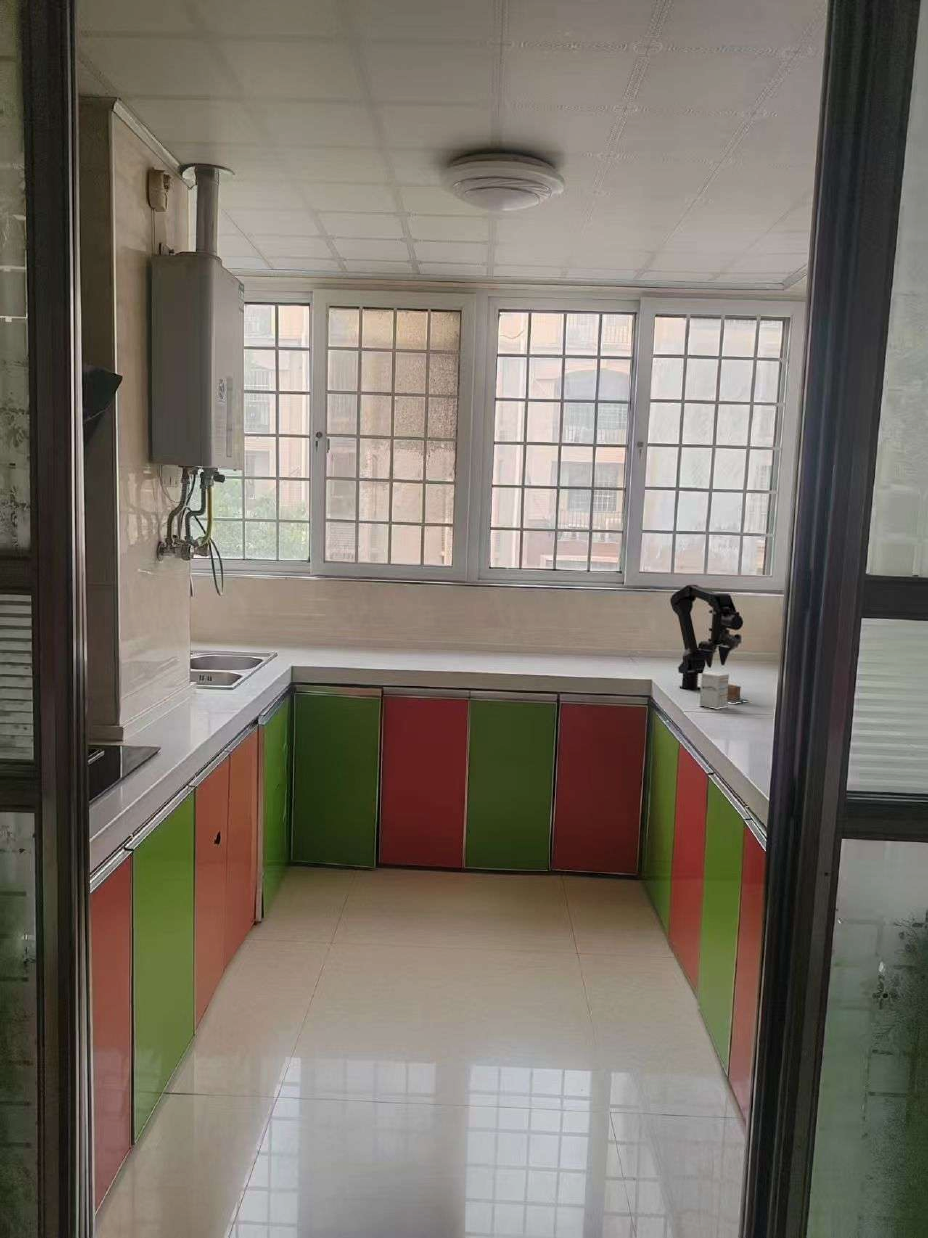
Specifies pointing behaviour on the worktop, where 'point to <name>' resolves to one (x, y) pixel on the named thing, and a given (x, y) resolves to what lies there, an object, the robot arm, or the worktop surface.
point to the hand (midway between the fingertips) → (716, 666)
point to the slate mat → (737, 700)
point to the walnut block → (733, 692)
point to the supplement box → (714, 689)
